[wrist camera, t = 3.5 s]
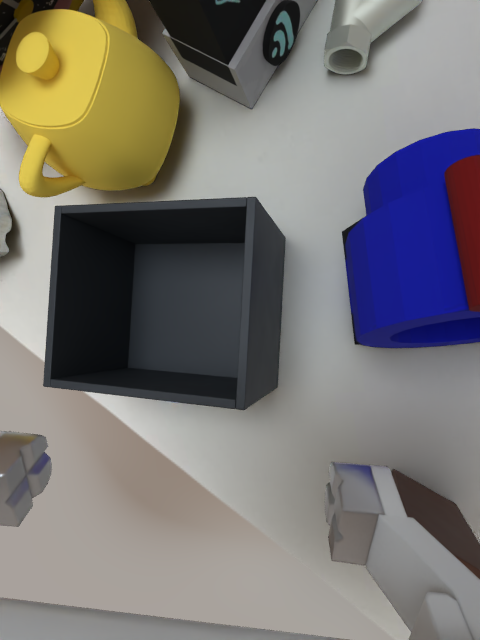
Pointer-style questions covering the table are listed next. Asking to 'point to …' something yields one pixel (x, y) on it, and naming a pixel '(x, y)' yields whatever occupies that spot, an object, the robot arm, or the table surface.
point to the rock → (4, 224)
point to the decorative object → (232, 40)
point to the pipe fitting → (359, 30)
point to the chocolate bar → (439, 520)
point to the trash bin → (166, 301)
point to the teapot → (88, 100)
